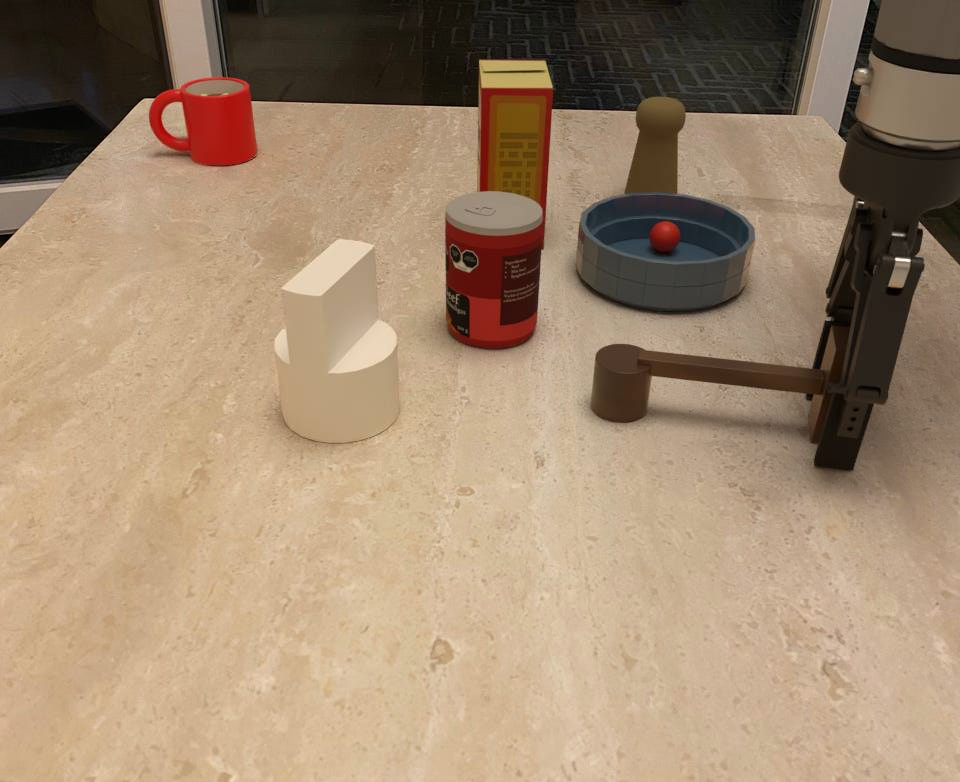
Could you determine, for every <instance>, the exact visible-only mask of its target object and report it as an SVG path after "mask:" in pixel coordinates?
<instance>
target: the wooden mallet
mask: <svg viewBox="0 0 960 782" xmlns="http://www.w3.org/2000/svg"><path fill="white" fill-rule="evenodd" d="M849 333H850V327H841V326H831V330H830V334H829V338H828V342H827V345H826V349H825V353H824V357H823V361H822V364H821V368H820V369H812V368H811V367H801V366H792V365H783V364H773V363H765V362H756V361H747V360H740V359H739V360H737V359H728V358H721V357H719V358H718V357H711V356H703V355H702V356H701V355H692V354H684V353H675V352H666V351H657V350H649V349H645V348H643V347H641V346H638V345H634V344H629V343H612V344H608V345H605V346H603V347H601V348H599V349H598V350H597V352H596V353H595V356H594V366H593V378H592V388H591V396H590V408H591V410H592V412H593V413H594V414H595V415H597V416H598V417H600V418H602V419H604V420H606V421H609V422H616V423H630V422H634V421H637V420H640V419H641V418H643V417H645V415H646V413H647V411H648V407H649V399H650V392H651V386H652V385H651V384H652V378H653V377H655V378H656V377H657V378H666V379H673V380H683V381H691V382H700V383H701V382H702V383H709V384H718V385H726V386H735V387H745V388H753V389H762V390H772V391H779V392H788V393H795V394H796V393H797V394H804V395H806V394H813V398H811V403H810V407H809V411H808V414H807V421H808V428H809V439H810V443H811V444H818V443H819V439H820V435H821V432H822V428H823V425H824V421H825V418H826V414H827V411H828V407H829V404H830V400H831V397H832V393H828V384H829V383H833V384H835V383H836V384H839V382H840V381H841V376H842V371H843V365H844V360H845V354H846V349H847V343H848V338H849Z"/></svg>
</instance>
